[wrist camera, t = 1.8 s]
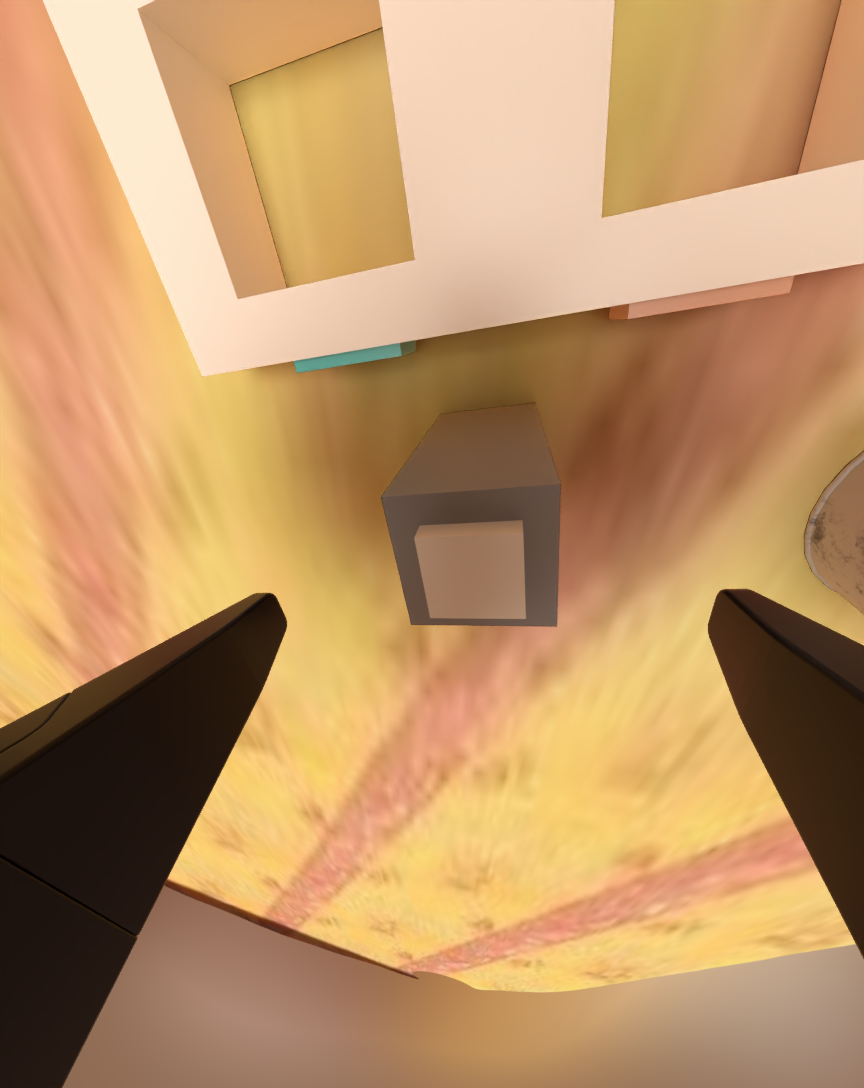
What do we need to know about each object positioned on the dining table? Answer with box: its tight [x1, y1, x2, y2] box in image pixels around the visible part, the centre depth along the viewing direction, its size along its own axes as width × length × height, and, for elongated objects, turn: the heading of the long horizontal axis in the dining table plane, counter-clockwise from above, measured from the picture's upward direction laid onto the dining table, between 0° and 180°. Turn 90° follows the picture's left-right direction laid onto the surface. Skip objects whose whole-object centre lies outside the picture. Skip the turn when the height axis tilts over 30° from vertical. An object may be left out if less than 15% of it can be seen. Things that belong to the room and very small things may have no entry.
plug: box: [381, 403, 561, 627], centre depth 13 cm, size 4×4×10 cm
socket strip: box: [43, 0, 864, 377], centre depth 10 cm, size 22×10×4 cm, turn 98°
